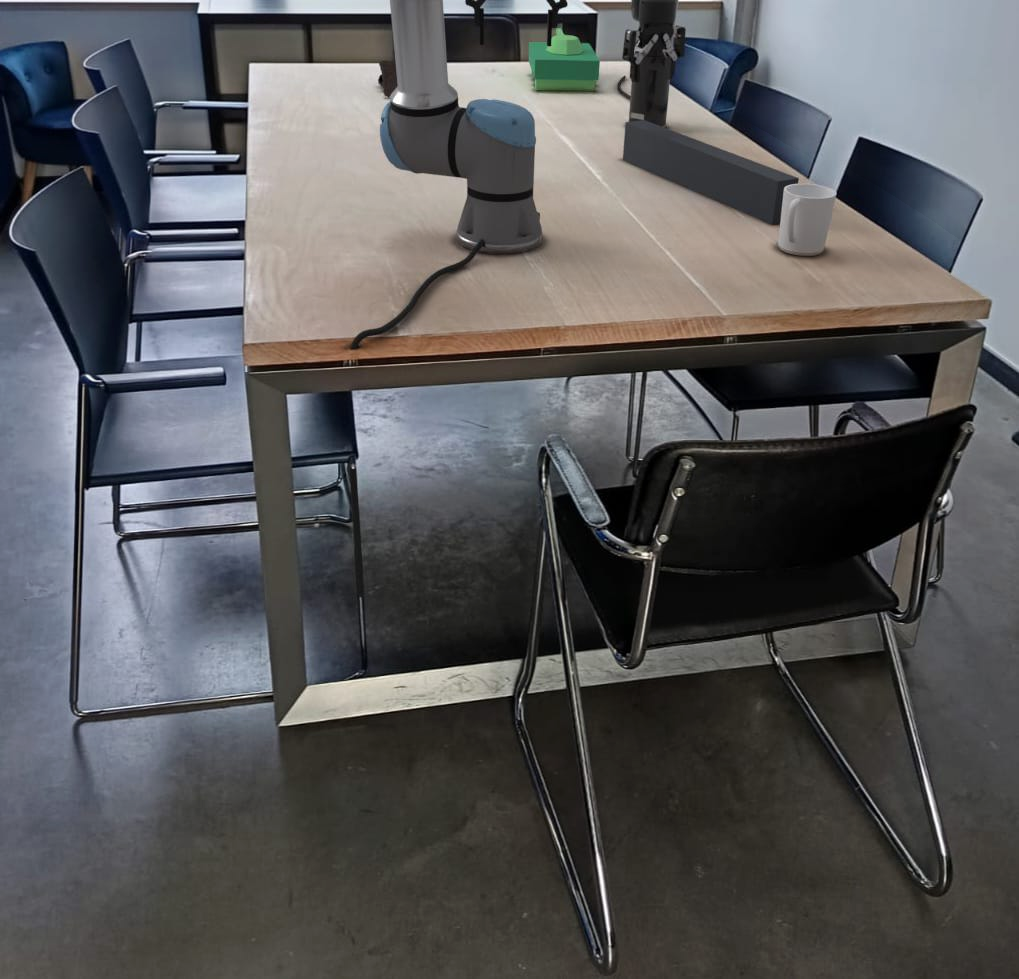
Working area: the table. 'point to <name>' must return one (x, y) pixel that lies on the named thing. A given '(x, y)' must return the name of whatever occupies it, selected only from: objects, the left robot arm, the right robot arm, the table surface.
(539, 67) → the toy tank
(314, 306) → the table surface
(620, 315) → the table surface
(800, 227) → the mug
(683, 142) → the beam
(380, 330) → the left robot arm
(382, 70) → the axe head
